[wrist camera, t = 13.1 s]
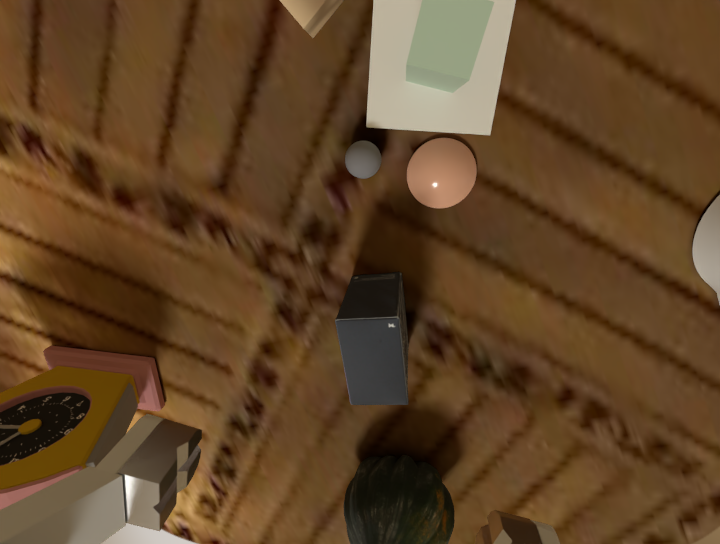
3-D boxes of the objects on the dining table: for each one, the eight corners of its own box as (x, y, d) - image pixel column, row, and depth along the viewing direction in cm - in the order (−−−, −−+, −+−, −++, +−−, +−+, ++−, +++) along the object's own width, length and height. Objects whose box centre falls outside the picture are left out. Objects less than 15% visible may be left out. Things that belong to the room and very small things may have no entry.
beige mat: (517, -18, 29) (519, -22, 28) (488, 134, 34) (490, 135, 33) (375, -21, 30) (375, -25, 29) (366, 127, 35) (366, 127, 34)
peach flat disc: (480, 139, 34) (482, 139, 33) (469, 208, 37) (470, 210, 36) (410, 136, 35) (410, 136, 34) (403, 204, 38) (403, 206, 37)
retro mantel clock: (173, 357, 49) (20, 509, 30) (183, 407, 53) (52, 571, 33) (35, 341, 51) (-195, 473, 32) (54, 390, 55) (-142, 535, 35)
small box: (347, 274, 41) (331, 318, 32) (402, 270, 40) (401, 314, 31) (359, 348, 45) (347, 407, 35) (409, 346, 44) (411, 406, 34)
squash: (472, 544, 49) (456, 604, 36) (377, 554, 54) (332, 611, 40) (441, 436, 54) (418, 455, 41) (358, 454, 59) (312, 475, 46)
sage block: (469, 36, 30) (494, 1, 22) (452, 93, 32) (469, 80, 24) (420, 24, 30) (426, -16, 22) (405, 81, 32) (406, 64, 24)
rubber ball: (383, 141, 35) (381, 142, 32) (380, 177, 36) (378, 182, 33) (348, 138, 35) (343, 139, 32) (347, 174, 37) (341, 179, 33)
